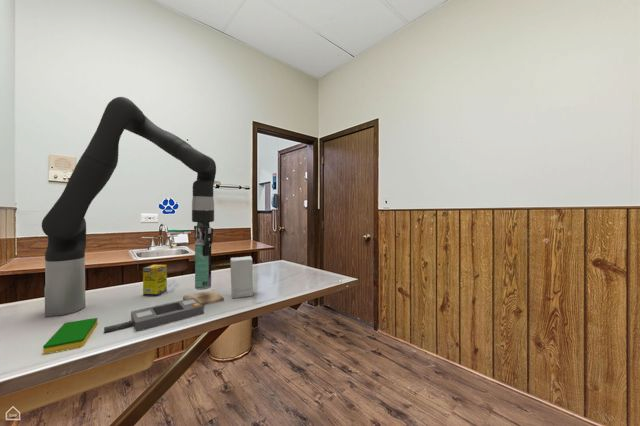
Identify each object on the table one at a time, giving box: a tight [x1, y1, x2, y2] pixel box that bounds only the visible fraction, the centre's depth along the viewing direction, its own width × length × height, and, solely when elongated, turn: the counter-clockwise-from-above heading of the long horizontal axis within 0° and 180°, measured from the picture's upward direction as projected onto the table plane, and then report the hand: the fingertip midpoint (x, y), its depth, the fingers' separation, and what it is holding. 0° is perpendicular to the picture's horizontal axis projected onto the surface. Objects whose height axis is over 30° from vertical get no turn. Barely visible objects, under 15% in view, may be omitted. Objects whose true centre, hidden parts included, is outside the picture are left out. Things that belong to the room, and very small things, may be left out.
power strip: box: [103, 298, 205, 333], centre depth 78 cm, size 24×10×3 cm, turn 133°
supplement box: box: [142, 264, 168, 297], centre depth 100 cm, size 6×6×11 cm
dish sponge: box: [42, 317, 99, 355], centre depth 67 cm, size 7×14×2 cm, turn 30°
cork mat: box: [182, 289, 225, 306], centre depth 94 cm, size 11×11×1 cm
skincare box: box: [230, 255, 254, 299], centre depth 100 cm, size 8×6×15 cm
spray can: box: [194, 238, 212, 291], centre depth 94 cm, size 6×6×20 cm
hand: (203, 254), depth 94 cm, fingers closed on spray can, 5 cm apart
